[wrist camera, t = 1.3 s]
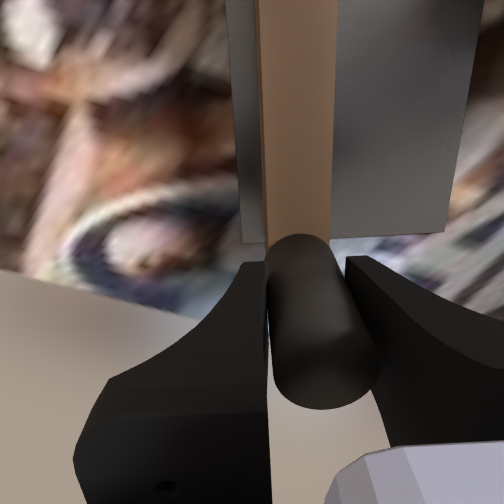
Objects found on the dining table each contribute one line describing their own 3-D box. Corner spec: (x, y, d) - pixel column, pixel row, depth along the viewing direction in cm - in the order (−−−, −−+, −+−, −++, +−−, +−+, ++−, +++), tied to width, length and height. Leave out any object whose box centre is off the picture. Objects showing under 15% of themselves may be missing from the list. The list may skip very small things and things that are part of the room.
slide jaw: (322, -181, 11) (509, -763, 3) (315, 246, 17) (375, 406, 9) (239, -175, 11) (228, -740, 3) (260, 249, 17) (274, 412, 9)
